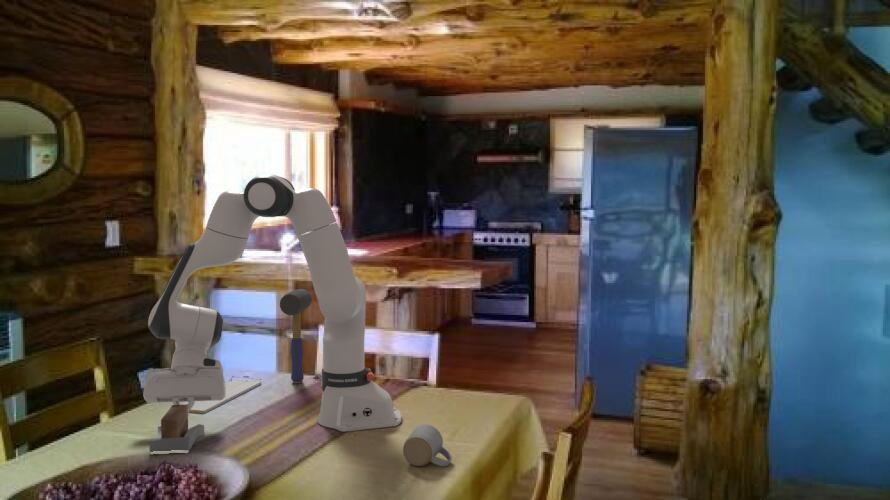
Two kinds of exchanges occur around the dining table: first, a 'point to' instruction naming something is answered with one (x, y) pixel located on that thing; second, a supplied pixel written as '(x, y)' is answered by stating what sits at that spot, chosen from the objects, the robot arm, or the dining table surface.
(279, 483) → the dining table surface
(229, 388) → the baseboard molding
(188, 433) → the grey channel
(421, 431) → the ceramic mug
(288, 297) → the rubber mallet
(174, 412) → the walnut plank
